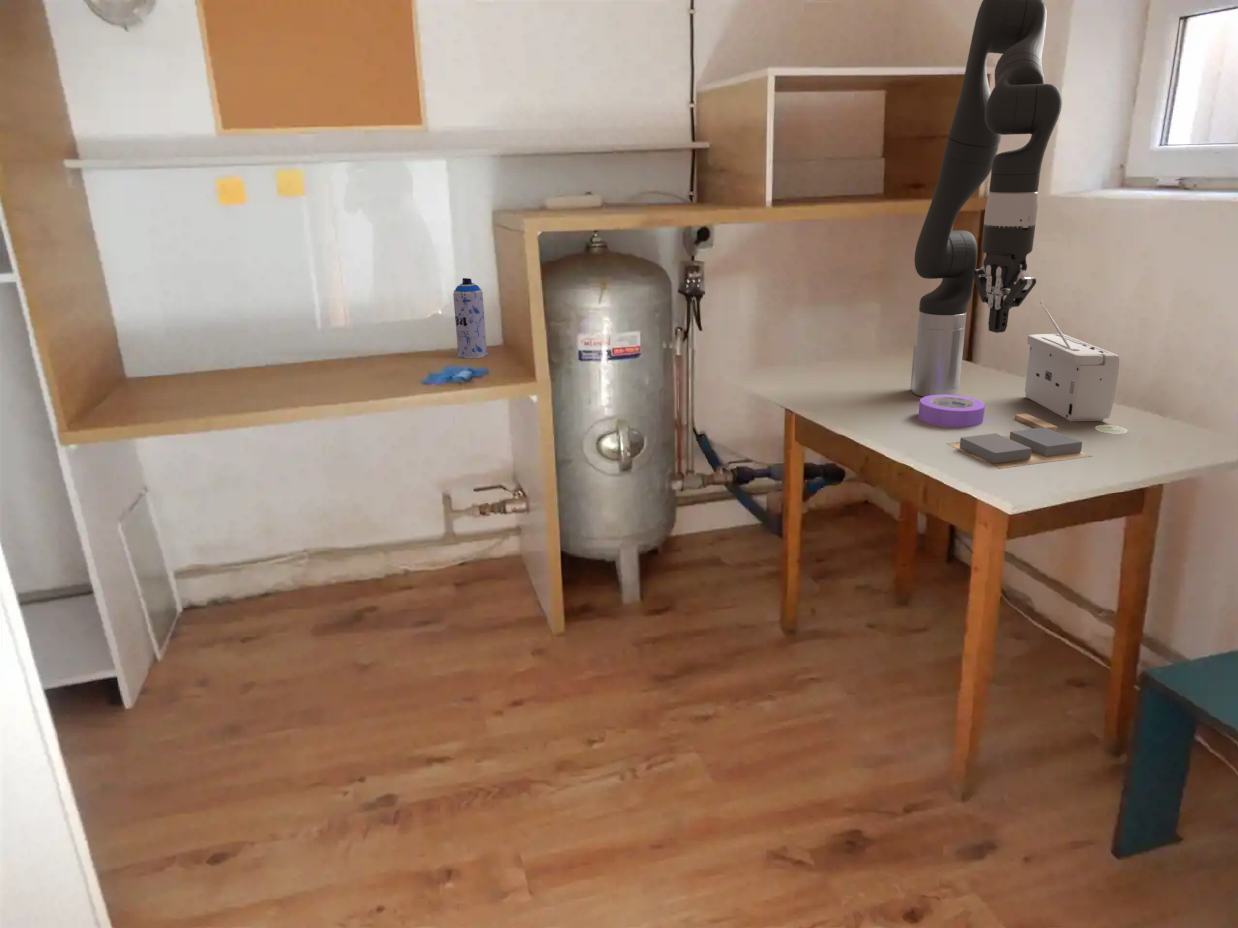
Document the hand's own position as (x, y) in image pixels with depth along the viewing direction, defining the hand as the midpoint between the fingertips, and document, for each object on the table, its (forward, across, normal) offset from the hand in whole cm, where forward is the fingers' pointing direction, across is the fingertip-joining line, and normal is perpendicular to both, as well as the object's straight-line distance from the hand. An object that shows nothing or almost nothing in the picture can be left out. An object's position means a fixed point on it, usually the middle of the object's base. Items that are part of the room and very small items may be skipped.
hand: (996, 331), depth 148 cm
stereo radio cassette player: (+21, -17, +31) cm, 41 cm away
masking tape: (+21, -18, +6) cm, 28 cm away
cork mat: (+21, +2, +5) cm, 21 cm away
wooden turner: (+21, -6, +17) cm, 28 cm away
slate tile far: (+19, -2, +10) cm, 22 cm away
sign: (+21, +2, +25) cm, 33 cm away
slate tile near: (+19, -2, 0) cm, 19 cm away
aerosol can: (+22, -113, -72) cm, 135 cm away
